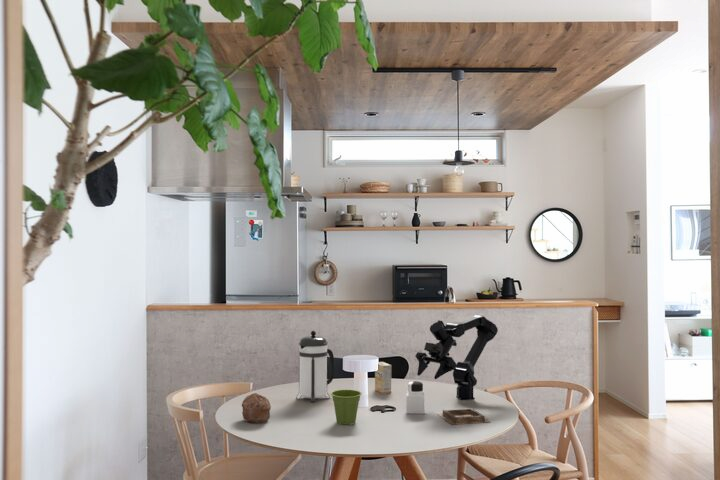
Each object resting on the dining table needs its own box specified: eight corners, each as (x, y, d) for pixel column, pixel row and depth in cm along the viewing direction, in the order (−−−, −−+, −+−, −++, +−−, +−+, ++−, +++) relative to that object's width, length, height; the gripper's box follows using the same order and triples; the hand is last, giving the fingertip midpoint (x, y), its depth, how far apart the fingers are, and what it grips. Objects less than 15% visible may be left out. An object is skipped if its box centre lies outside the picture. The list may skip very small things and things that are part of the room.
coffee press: (331, 403, 271) (331, 333, 271) (294, 402, 271) (294, 333, 271) (333, 393, 288) (334, 328, 288) (298, 393, 288) (299, 327, 289)
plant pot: (324, 424, 239) (324, 394, 239) (340, 416, 249) (340, 388, 249) (352, 428, 233) (352, 397, 233) (367, 420, 244) (367, 391, 244)
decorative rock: (239, 417, 248) (239, 392, 248) (267, 414, 252) (267, 389, 252) (245, 426, 236) (245, 399, 236) (274, 423, 240) (274, 397, 240)
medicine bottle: (424, 409, 261) (424, 380, 261) (424, 414, 253) (424, 384, 254) (406, 409, 261) (406, 380, 261) (406, 413, 254) (406, 383, 254)
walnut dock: (473, 413, 257) (473, 406, 257) (491, 423, 242) (491, 416, 242) (436, 415, 253) (436, 409, 253) (452, 426, 238) (452, 419, 238)
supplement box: (374, 390, 295) (374, 362, 295) (383, 389, 297) (383, 361, 297) (382, 394, 288) (382, 365, 288) (391, 393, 290) (391, 364, 290)
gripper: (418, 333, 273) (400, 361, 265) (452, 337, 259) (434, 368, 252) (430, 349, 278) (413, 377, 270) (464, 354, 264) (447, 384, 257)
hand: (426, 376), depth 262 cm, fingers open, 9 cm apart
